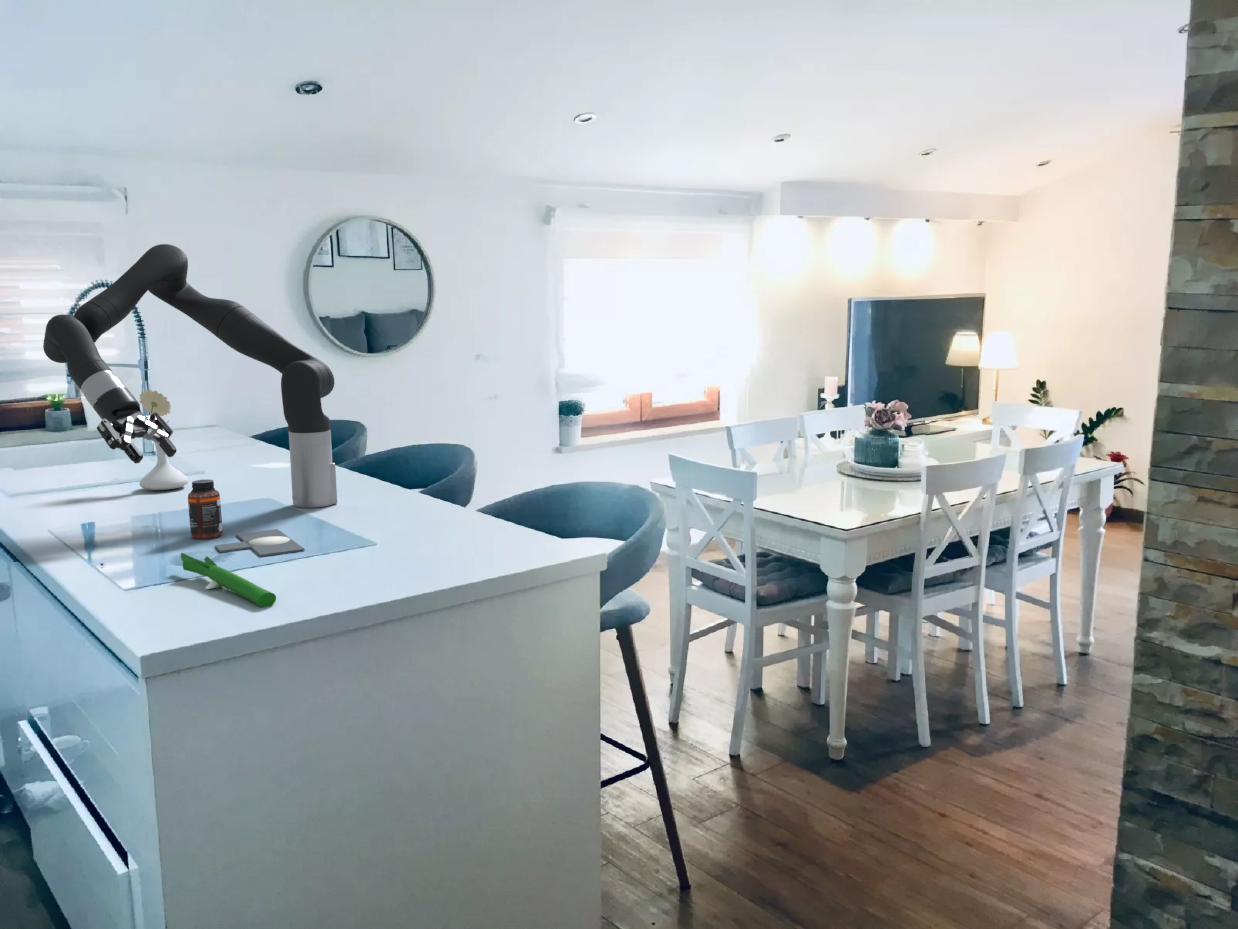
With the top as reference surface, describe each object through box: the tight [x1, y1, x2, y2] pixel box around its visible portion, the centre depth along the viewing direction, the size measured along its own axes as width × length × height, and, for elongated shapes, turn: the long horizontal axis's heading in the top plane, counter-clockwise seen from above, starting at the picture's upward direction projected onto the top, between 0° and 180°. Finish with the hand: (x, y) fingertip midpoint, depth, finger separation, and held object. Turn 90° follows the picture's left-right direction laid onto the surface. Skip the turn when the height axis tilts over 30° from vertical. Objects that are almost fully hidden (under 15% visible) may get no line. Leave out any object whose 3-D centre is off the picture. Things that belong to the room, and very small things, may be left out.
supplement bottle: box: [187, 478, 224, 540], centre depth 197 cm, size 6×6×11 cm
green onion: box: [180, 552, 277, 608], centre depth 161 cm, size 5×3×30 cm
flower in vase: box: [138, 389, 190, 491], centre depth 247 cm, size 13×11×25 cm
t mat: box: [214, 528, 306, 558], centre depth 190 cm, size 14×20×1 cm
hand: (156, 457), depth 199 cm, fingers open, 8 cm apart
